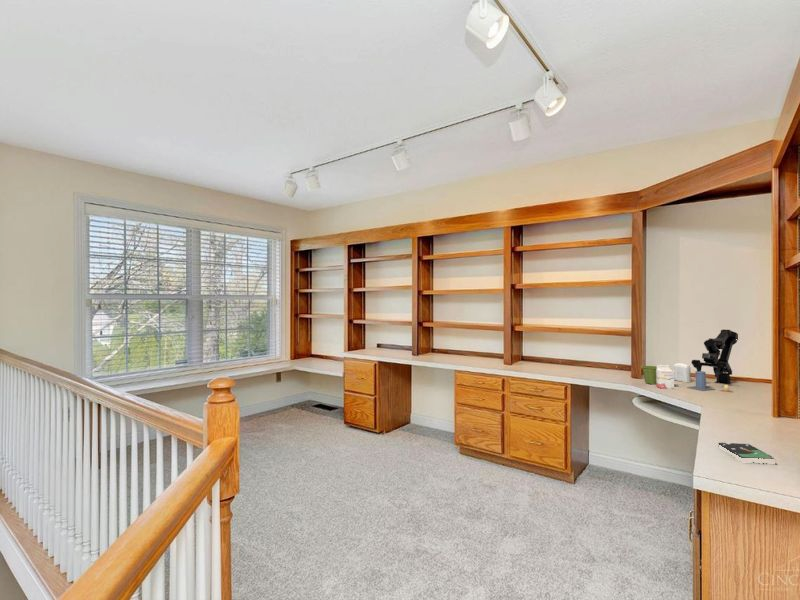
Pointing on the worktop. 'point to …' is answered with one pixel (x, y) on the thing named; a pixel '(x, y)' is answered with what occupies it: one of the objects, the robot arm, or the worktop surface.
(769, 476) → the worktop surface
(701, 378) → the domed octagonal peg
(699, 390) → the rubber mat
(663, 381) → the ink cartridge box
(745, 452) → the disk drive
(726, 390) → the terracotta saucer
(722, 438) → the worktop surface
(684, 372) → the photo printer
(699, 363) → the robot arm
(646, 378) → the plant pot
